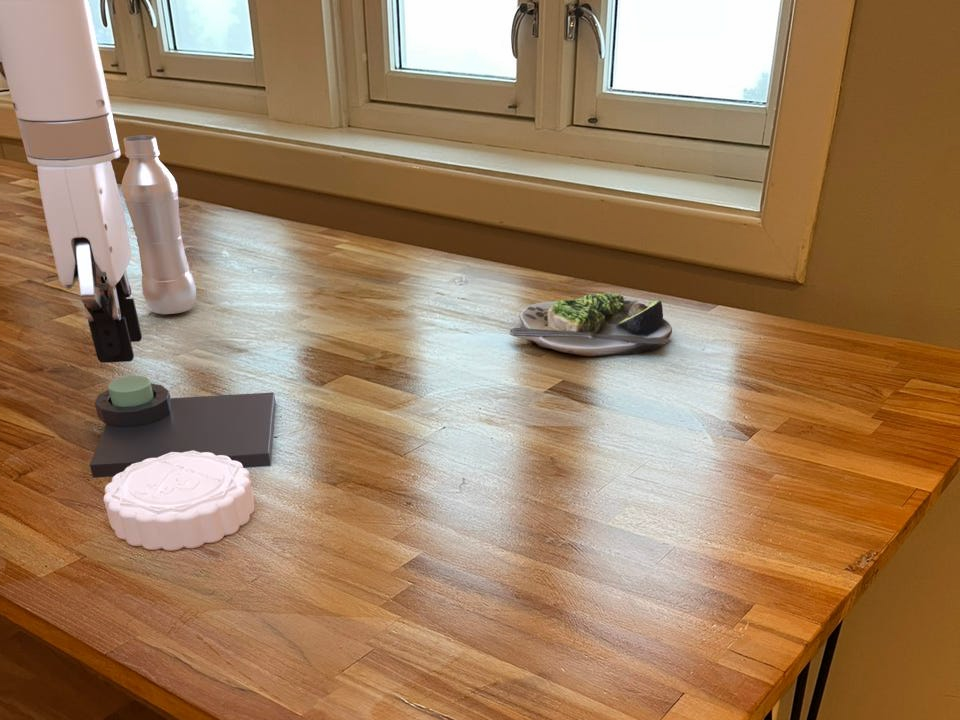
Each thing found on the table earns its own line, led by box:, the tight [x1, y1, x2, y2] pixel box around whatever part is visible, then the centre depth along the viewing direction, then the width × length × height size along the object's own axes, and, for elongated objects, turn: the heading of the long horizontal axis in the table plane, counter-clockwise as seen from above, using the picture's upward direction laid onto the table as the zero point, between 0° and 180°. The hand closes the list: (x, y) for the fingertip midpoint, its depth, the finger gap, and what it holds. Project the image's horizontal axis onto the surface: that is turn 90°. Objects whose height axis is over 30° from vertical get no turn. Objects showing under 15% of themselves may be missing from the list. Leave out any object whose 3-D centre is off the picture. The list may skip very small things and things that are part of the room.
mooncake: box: [103, 450, 255, 552], centre depth 81 cm, size 12×12×4 cm
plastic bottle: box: [121, 134, 197, 315], centre depth 117 cm, size 6×7×20 cm
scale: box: [89, 383, 277, 479], centre depth 93 cm, size 17×14×3 cm
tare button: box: [107, 375, 154, 407], centre depth 95 cm, size 4×4×2 cm
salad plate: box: [509, 292, 673, 357], centre depth 114 cm, size 19×18×5 cm
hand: (120, 348), depth 92 cm, fingers open, 4 cm apart
